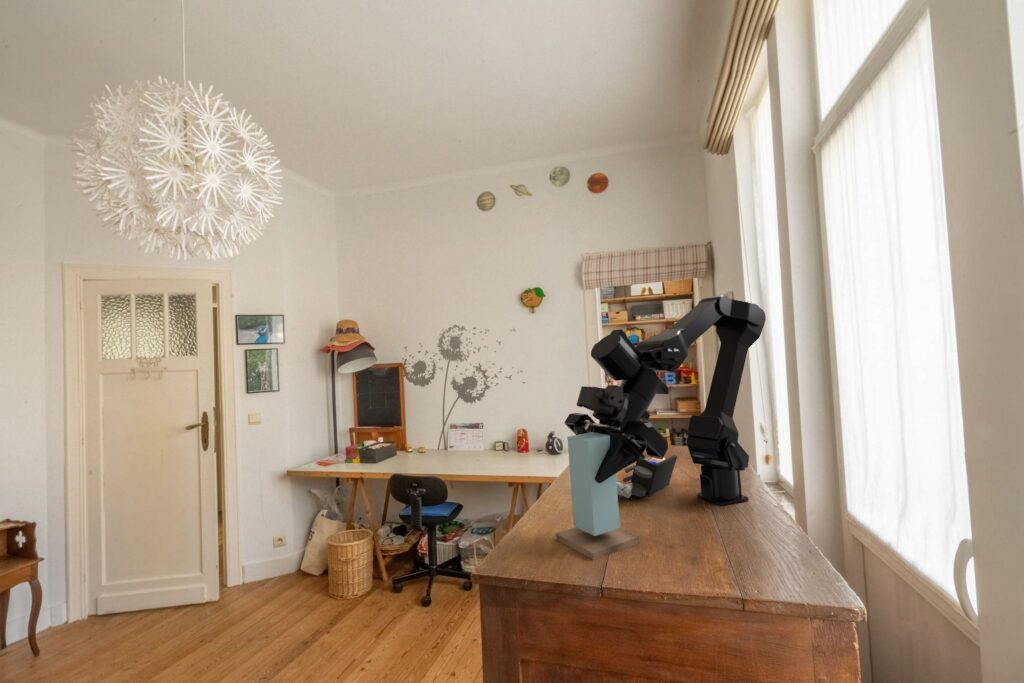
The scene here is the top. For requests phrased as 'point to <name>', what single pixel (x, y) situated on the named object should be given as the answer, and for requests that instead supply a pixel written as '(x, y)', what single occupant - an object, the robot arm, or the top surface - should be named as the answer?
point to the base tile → (597, 541)
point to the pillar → (592, 485)
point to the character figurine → (650, 475)
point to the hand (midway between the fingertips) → (585, 477)
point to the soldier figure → (624, 489)
